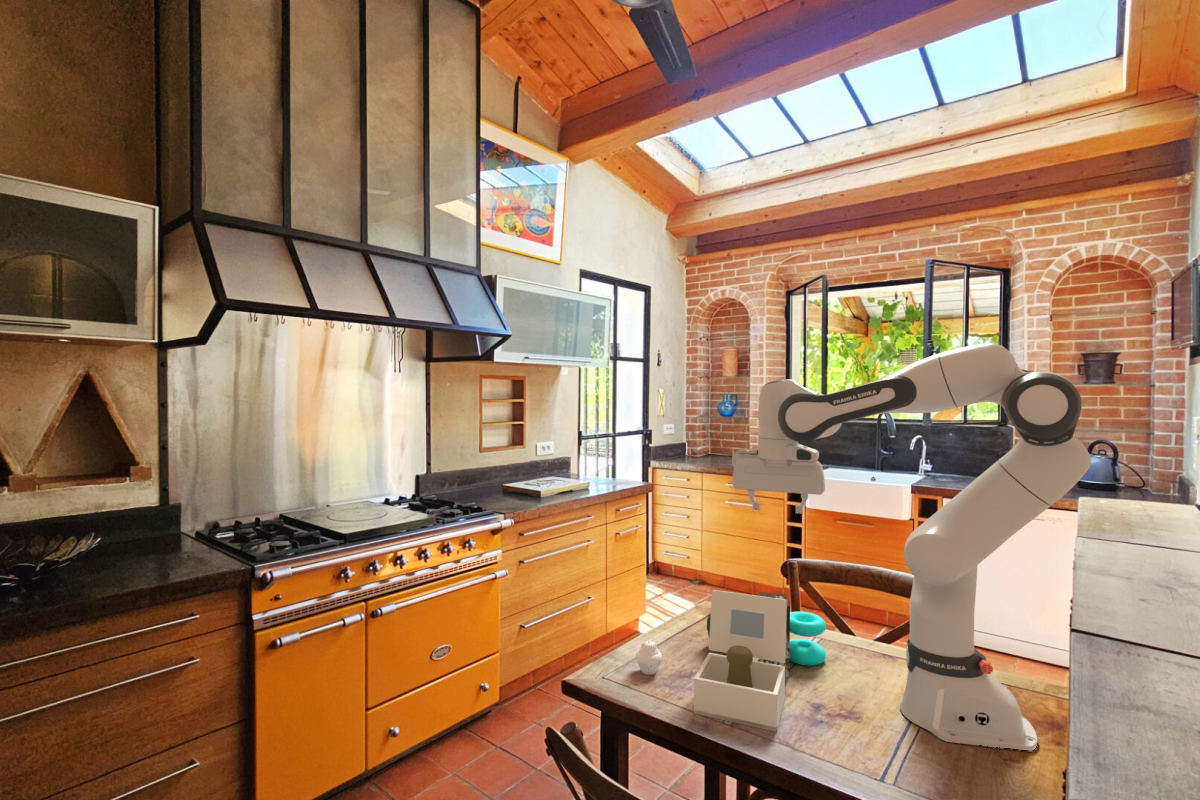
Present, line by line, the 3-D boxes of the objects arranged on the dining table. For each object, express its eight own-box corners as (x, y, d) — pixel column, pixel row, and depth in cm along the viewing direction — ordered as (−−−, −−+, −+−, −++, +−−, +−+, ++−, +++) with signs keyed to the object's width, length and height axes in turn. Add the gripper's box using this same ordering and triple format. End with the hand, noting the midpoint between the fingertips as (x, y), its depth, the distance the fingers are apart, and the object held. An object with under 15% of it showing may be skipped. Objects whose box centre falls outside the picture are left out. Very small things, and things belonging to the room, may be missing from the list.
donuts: (823, 611, 147) (828, 626, 137) (822, 651, 147) (828, 669, 137) (781, 608, 149) (783, 622, 140) (781, 647, 149) (783, 665, 140)
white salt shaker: (630, 670, 137) (630, 640, 137) (650, 663, 140) (650, 633, 140) (647, 680, 132) (647, 649, 132) (668, 673, 135) (668, 642, 135)
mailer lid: (784, 663, 123) (785, 662, 124) (786, 600, 126) (787, 599, 126) (708, 649, 129) (709, 649, 130) (711, 589, 132) (712, 589, 133)
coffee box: (790, 677, 133) (790, 606, 133) (761, 675, 135) (761, 604, 134) (786, 660, 142) (786, 593, 142) (758, 657, 143) (758, 591, 143)
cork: (744, 712, 117) (745, 657, 117) (718, 701, 121) (718, 648, 121) (760, 701, 121) (760, 648, 121) (734, 691, 125) (734, 639, 125)
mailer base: (784, 699, 123) (784, 666, 123) (777, 731, 112) (777, 694, 112) (708, 684, 130) (708, 652, 130) (693, 713, 118) (693, 678, 118)
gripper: (729, 450, 136) (729, 510, 136) (824, 453, 128) (823, 517, 128) (734, 448, 142) (734, 505, 142) (825, 451, 134) (825, 512, 134)
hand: (777, 511), depth 135 cm, fingers open, 8 cm apart
